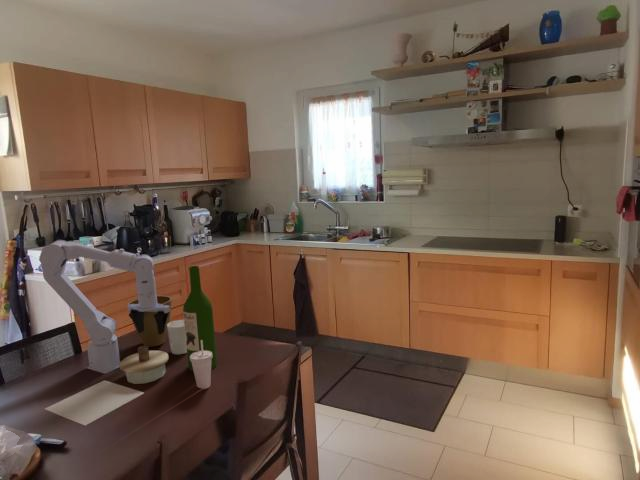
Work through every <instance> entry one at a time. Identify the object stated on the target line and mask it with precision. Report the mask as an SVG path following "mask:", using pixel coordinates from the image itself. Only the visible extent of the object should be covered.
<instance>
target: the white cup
mask: <svg viewBox="0 0 640 480" xmlns="http://www.w3.org/2000/svg"><path fill="white" fill-rule="evenodd" d="M167 330H168V332H167V337H168V341H169V346H170V353H171V354H173V355H183V354H187V345H186V335H185V325H184V319H178V320H177V319H176V320H173V321H170V322H169V323H168V324H167Z"/></svg>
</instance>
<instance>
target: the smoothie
mask: <svg viewBox="0 0 640 480" xmlns="http://www.w3.org/2000/svg"><path fill="white" fill-rule="evenodd" d="M212 357H213V356H212V352H210V351H203V340H201V351H197V352H194V353H192V354H191V355H190V361H191V362H192V366H193V371H192V372H193V375H194V378H195V379H194V380H195V383H196V387H197V388H199V389H200V390H206V389H209V388H210V387H211V382H212V381H211V377H212V369H211V358H212Z"/></svg>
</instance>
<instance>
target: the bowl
mask: <svg viewBox="0 0 640 480" xmlns="http://www.w3.org/2000/svg"><path fill="white" fill-rule="evenodd" d="M165 373H166V363H165V364H164V365H162V366H160V367H158V368H156V369H153V370H150V371H145V372H138V373H129V372H125V375H126V380H127V382H128V383H130V384H134V385H137V384H140V385H141V384H149V383H151V382H154V381H157V380H158V379H161V378H163V376H165Z"/></svg>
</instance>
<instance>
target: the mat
mask: <svg viewBox="0 0 640 480" xmlns="http://www.w3.org/2000/svg"><path fill="white" fill-rule="evenodd" d="M144 394H145V392H143V391H140V390H137V389H134V388H130V387H127V386H124V385H121V384H118V383H114V382H112V381H109V380H106V379H105V380H102V381H100V382H98V383H95V384H93V385H92V386H89V387H87V388H86V389H85V388H84V390H80V391H79V392H77V393H75V394H72V395H71V396H69V397H65V398H64V399H62V400H60V401H58V402H56V403H54V404H52V405H49V406H47V407H45V408H44V410H46V411H48V412H50V413H52V414H54V415H58V416H60V417H62V418H65V419H67V420H70V421H72V422H75V423H77V424H80V425H82V426H88V425H89V424H91V423H93V422H95V421H97V420H98V419H101V418H102V417H104V416H105V415H108V414H110V413H111V412H113V411H115V410H117V409H118V408H120V407H122V406H124V405H125V404H127V403H129V402H131V401H133V400H134V399H136V398H139V397H140V396H142V395H144Z"/></svg>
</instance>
